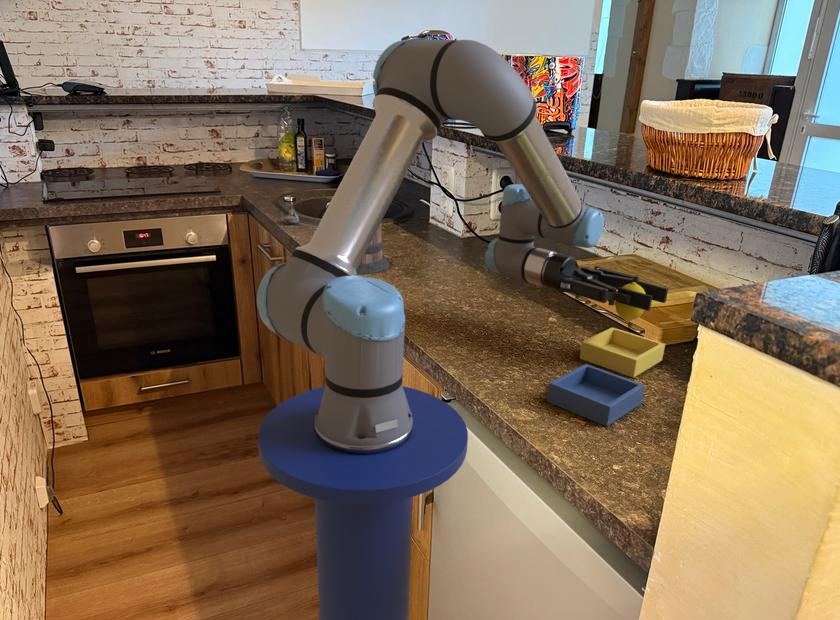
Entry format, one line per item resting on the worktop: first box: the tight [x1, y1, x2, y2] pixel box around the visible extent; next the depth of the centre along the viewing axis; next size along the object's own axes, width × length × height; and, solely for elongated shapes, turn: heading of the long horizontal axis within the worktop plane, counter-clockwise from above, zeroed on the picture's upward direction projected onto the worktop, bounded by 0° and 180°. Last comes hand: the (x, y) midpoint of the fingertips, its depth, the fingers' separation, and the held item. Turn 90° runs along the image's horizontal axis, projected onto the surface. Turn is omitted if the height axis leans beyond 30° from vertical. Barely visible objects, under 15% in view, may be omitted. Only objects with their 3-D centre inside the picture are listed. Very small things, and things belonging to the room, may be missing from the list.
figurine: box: [282, 205, 300, 226], centre depth 225 cm, size 5×4×6 cm
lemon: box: [614, 282, 645, 323], centre depth 129 cm, size 6×6×8 cm
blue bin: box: [546, 363, 646, 427], centre depth 116 cm, size 12×12×4 cm
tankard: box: [357, 222, 391, 275], centre depth 185 cm, size 24×17×20 cm
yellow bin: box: [579, 326, 666, 379], centre depth 133 cm, size 12×12×4 cm
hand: (658, 299), depth 125 cm, fingers closed on lemon, 5 cm apart
